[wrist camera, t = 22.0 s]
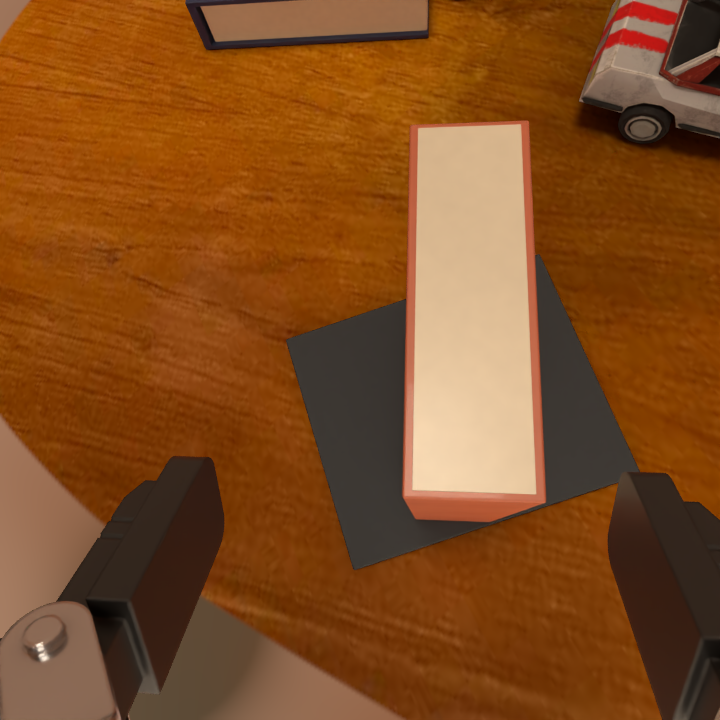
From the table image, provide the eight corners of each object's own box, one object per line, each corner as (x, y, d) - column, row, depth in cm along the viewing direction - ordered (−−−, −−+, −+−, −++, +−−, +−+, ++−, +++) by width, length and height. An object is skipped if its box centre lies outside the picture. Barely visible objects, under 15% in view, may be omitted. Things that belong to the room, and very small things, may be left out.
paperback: (415, 519, 28) (402, 498, 15) (418, 301, 31) (409, 122, 18) (490, 522, 28) (547, 503, 15) (486, 301, 31) (529, 117, 18)
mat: (354, 569, 28) (353, 570, 28) (287, 342, 32) (285, 339, 32) (638, 475, 28) (641, 474, 28) (537, 257, 32) (539, 253, 32)
